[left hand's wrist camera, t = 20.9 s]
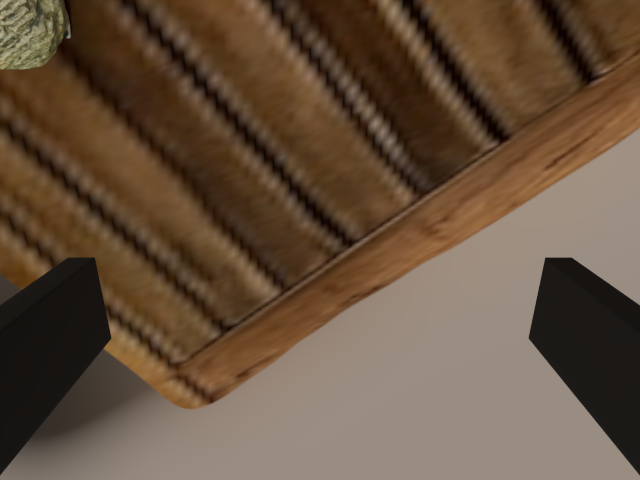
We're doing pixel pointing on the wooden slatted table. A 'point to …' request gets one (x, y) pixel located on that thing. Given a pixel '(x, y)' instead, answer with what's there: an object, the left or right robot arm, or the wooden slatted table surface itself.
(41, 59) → the fossil
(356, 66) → the wooden slatted table surface
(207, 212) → the wooden slatted table surface
